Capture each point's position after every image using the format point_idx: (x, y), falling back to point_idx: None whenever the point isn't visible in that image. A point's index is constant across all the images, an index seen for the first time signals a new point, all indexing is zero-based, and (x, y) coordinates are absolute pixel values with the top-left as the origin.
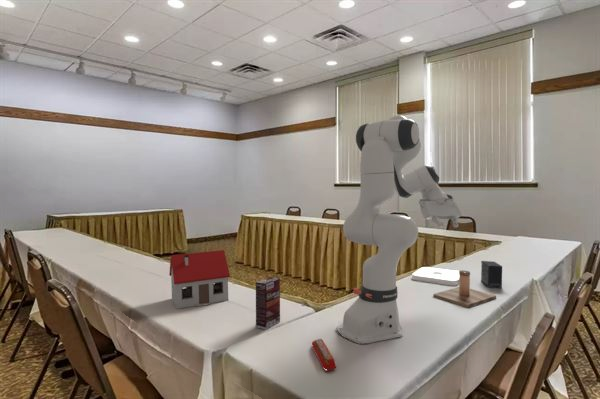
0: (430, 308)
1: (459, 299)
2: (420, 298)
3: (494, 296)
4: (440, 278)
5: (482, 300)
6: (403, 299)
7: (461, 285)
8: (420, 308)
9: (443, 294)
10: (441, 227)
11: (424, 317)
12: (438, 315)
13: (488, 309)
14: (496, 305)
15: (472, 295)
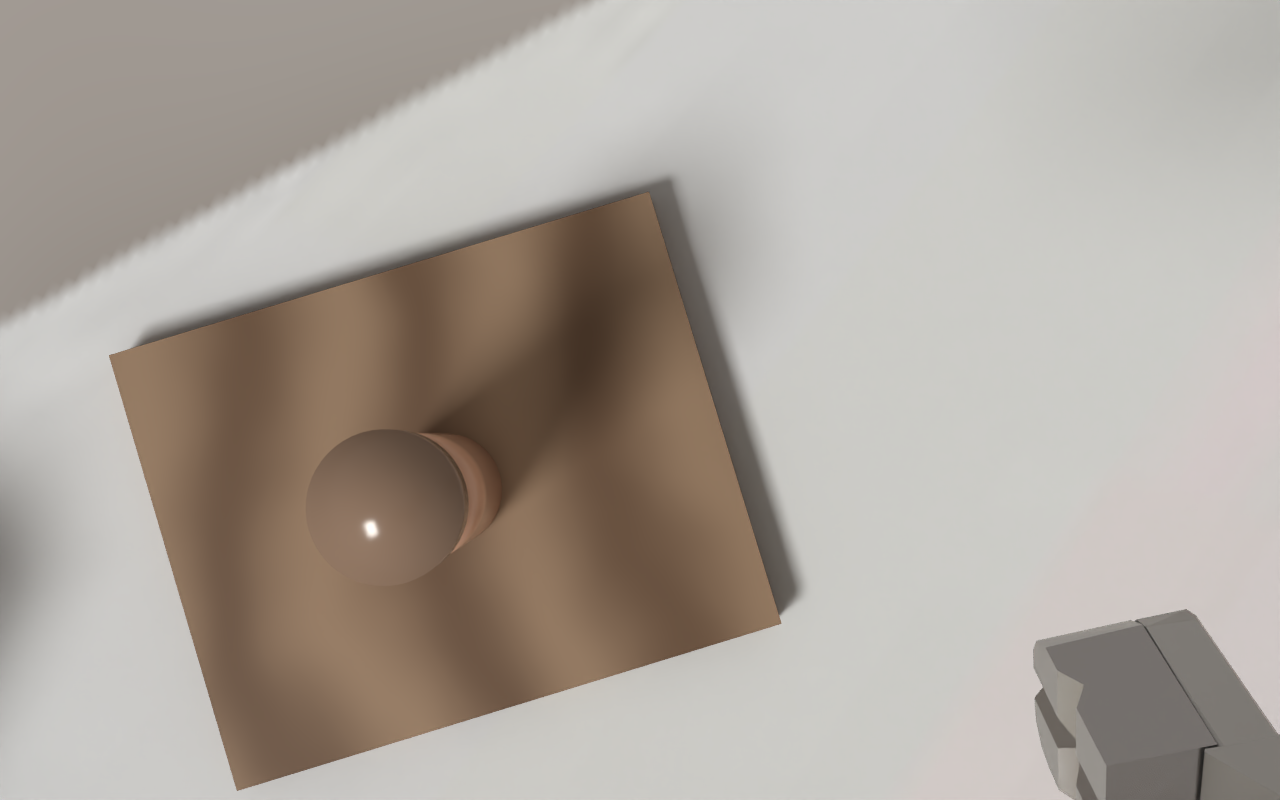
0: (1043, 298)
1: (620, 363)
2: (956, 612)
3: (147, 345)
4: None
5: (387, 271)
6: None
7: (484, 479)
8: (1145, 329)
9: (677, 571)
10: (1037, 706)
11: (1251, 102)
12: (1086, 107)
13: (482, 99)
14: (307, 171)
15: None
